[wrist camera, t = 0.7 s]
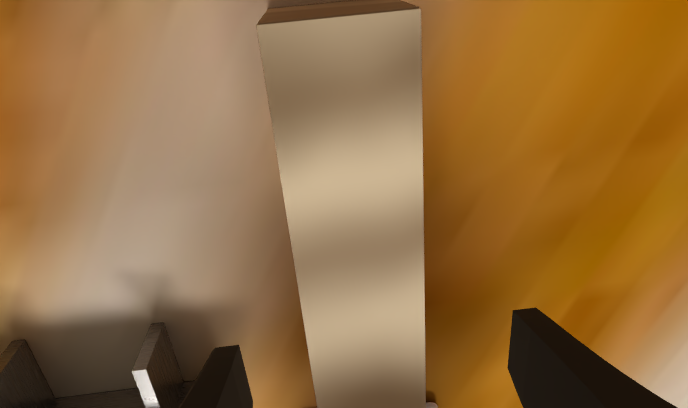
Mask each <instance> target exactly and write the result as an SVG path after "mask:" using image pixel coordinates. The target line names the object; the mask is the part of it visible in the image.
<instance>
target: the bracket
mask: <svg viewBox="0 0 688 408" xmlns="http://www.w3.org/2000/svg"><path fill="white" fill-rule="evenodd" d="M132 374H133V376H134V379H135V381H136V384H137V386H138V388H134V389H127V390H119V391H111V392H103V393H95V394H88V395H80V396H72V397H64V398H56V399H55V398H54V396H53V394H52V392H51V390H50V388H49V386H48V384H47V382H46V380H45V378H44V376H43V374H42V372H41V370H40V368H39V367H38V365H37V363H36V361H35V359H34V357H33V355H32V353H31V351H30V349H29V347H28V345H27V343H26V341H25V340H19V341H12V342H11V343H10V345H9V346H8V347H7V349H6V350H5V351H4V352H3V354H2V355H1V356H0V408H179V406H180V405H181V403H182V402H183V400H184V398H185V397H186V395H187V394H188V392H189V390H190V389H191V387H192V386H193V384H194V382H195V381H189V382H183V379H182V376H181V373H180V370H179V367H178V364H177V361H176V358H175V355H174V352H173V349H172V346H171V343H170V340H169V337H168V334H167V331H166V328H165V325H164V323H157V324H151V326H150V328H149V331H148V333H147V335H146V338H145V340H144V343H143V345H142V347H141V350H140V352H139V355H138V357H137V360H136V362H135V364H134V367H133V369H132Z"/></svg>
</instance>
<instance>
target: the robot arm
mask: <svg viewBox="0 0 688 408" xmlns="http://www.w3.org/2000/svg"><path fill="white" fill-rule="evenodd" d="M508 370H509V373H510V375H511V378H512V381H513V383H514V386H515V389H516V391H517V393H518V396H519V398H520V401H521V403H522V406H523V407H524V408H677V407H676V406H674V405H672V404H670V403H669V402H667V401H665V400H664V399H662V398H660V397H659V396H657V395H656V394H654V393H652V392H651V391H649V390H648V389H646V388H645V387H643V386H642V385H640V384H639V383H637V382H636V381H634V380H633V379H631V378H630V377H628V376H627V375H625V374H624V373H622V372H621V371H619V370H618V369H616V368H615V367H614V366H612V365H611V364H609V363H608V362H607V361H605V360H604V359H602V358H601V357H600V356H598V355H597V354H596V353H594V352H593V351H592V350H590V349H589V348H588V347H586V346H585V345H584V344H582V343H581V342H580V341H578V340H577V339H576V338H574V337H573V336H572V335H571V334H569V333H568V332H567V331H565V330H564V329H563V328H562V327H560V326H559V325H558V324H556V323H555V322H554V321H553V320H551V319H550V318H549V317H547V316H546V315H545V314H544V313H542V312H541V311H540V310H538V309H537V308H529V309H521V310H513V316H512V327H511V337H510V348H509V359H508ZM179 408H253V400H252V396H251V391H250V387H249V383H248V379H247V375H246V371H245V367H244V363H243V359H242V355H241V351H240V347H239V345H234V346H226V347H219V348H215V349H214V350H213V351H212V353H211V354H210V356H209V358H208V360H207V361H206V363H205V365H204V367H203V369H202V370H201V372H200V374H199V375H198V377H197V379H196V381H195V382H194V384H193V386H192V387H191V389H190V390H189V392H188V394H187V395H186V397H185V398H184V400H183V402H182V403H181V405H180V406H179ZM426 408H438V405H437V404H436V403H433V402H427V403H426Z"/></svg>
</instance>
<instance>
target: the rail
mask: <svg viewBox="0 0 688 408" xmlns="http://www.w3.org/2000/svg"><path fill="white" fill-rule="evenodd" d="M256 28H257V34H258V40H259V46H260V53H261V59H262V65H263V71H264V78H265V84H266V90H267V96H268V103H269V109H270V115H271V121H272V128H273V134H274V140H275V146H276V153H277V159H278V165H279V171H280V178H281V184H282V190H283V196H284V203H285V209H286V215H287V221H288V228H289V234H290V240H291V246H292V253H293V259H294V265H295V271H296V278H297V284H298V290H299V296H300V303H301V309H302V315H303V321H304V328H305V334H306V340H307V346H308V353H309V359H310V365H311V371H312V378H313V384H314V390H315V396H316V403H317V408H426V374H425V292H424V210H423V128H422V46H421V9H420V8H419V7H418V6H415V5H412V4H409V3H406V2H403V1H400V0H350V1H340V2H330V3H320V4H310V5H300V6H290V7H280V8H270V9H268V10H267V11H266V13H265V14H264V15H263V17H262V18H261V19H260V21H259V22H258V24H257V25H256Z"/></svg>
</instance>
